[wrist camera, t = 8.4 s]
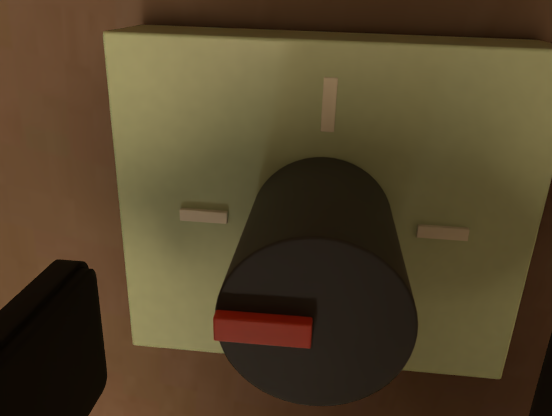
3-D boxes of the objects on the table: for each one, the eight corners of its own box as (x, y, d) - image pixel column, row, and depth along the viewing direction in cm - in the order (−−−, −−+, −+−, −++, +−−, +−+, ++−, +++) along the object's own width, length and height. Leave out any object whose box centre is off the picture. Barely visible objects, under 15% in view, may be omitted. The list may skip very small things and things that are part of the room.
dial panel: (477, 324, 19) (503, 384, 16) (159, 297, 20) (130, 349, 17) (539, 39, 15) (588, 51, 12) (141, 24, 16) (98, 31, 13)
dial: (399, 160, 14) (435, 252, 9) (384, 288, 15) (407, 427, 10) (251, 152, 14) (207, 236, 9) (251, 278, 16) (213, 408, 11)
